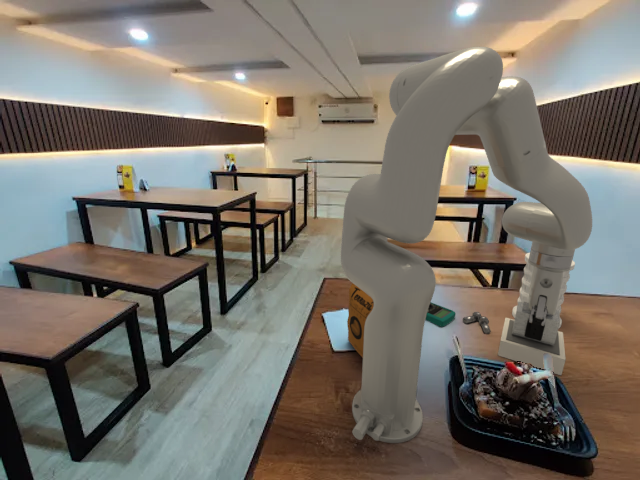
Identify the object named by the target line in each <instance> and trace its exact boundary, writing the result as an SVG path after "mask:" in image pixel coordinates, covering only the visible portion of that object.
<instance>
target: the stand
mask: <svg viewBox="0 0 640 480" xmlns="http://www.w3.org/2000/svg"><path fill="white" fill-rule="evenodd" d="M514 320H515V319H512V318H509V317H505V319H504V323H503V327H502V332H501V335H500V336H501V338H500V342H499V347H498V352H497V356H499V357H502V358H504V359H509V360H511V361H513V362H514V361H515V362H517V361H521V362H524V363H531V364H532V365H533V366H534V367H533V366H532V367H533V368H536V367H537V369H539V368H541V369H540V370H542V369H543V354H544V353H549V354H551V355H552V358H553V367H554V373H553V374H555V375H558V376H562V374H563V371H564V368H565V363H566V359H567V358H566V350H565V341H564V340H565V339H564V332H563V331H559V330H558V332H557V336H556V340H555V344H554V346H553V345H549V344H546V343H542V342H539V341H535V340H532V339H528V338H525V337H521V336H518V335H514V334H512V331H513V325H514Z"/></svg>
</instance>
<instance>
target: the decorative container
mask: <svg viewBox="0 0 640 480" xmlns="http://www.w3.org/2000/svg"><path fill="white" fill-rule="evenodd" d="M529 255H530V252H527V253H525V255H524V262H525V263H526V265H525V266H524V268H523V273H524V274H523V276H522V278H521V286H520V288H519V297H518V298H517V303H518V302H527V303H529V290H530V283H531V277H532V272H533V268H534V266H533V265H531V264H530V263H529V262H528V260H529ZM575 266H576V261H574V260H572V264H571V268H570V270H569V271H565V272H563V279H562V284H561V289H560V294H559V298H558V303H557V307H556V310H557V311H559V314H560V315H561V313H562V306H561V305H562V304H564V302H565V296H564V295H565V293H566V292H567V289H568V288H567V287H568V285H567V282H569V281H570V278H571V277H570V276H571V274H570V271H573V270H575ZM517 306H518V304H517V305H515V306H513V307H512V312H511V315H512V317H513V318H514V319H515V315H516V310H517ZM562 323H563V320H562V318H561V317H560V325H559V328H558V330H559V329H560V328H561V327H562Z"/></svg>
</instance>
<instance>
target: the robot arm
mask: <svg viewBox="0 0 640 480" xmlns="http://www.w3.org/2000/svg"><path fill="white" fill-rule="evenodd" d="M503 63H504V61H503V58H502V56H501V55H500V54H499V52H497V51H496V50H495V49H493V48H491V47H489V46H473V47H467V48H463V49H459V50H456V51H454V52H450V53H446V54H442V55H440V56H438V57H435V58H432V59H429V60H425V61H422V62H420V63H415V64H413V65H410V66H408V67H406V68H404V69H403V70H401V71H400V72H399V73H397V75H395V78H394V79H393V81H392V82H391V84H390V85H391V86H390V88H389V97H388V99H389V104H390V107H391V109H392V112H393V113H394V114H395V117H394V120H393V121H392V123H391V125H390V128H389V130H388V133H387V136H386V139H385V143H384V144H385V145H384V150H383V157H382V161H381V162H382V163H381V169H380V173H372V174H371V173H370V174H366V175H364V176H362V177H360V178H359V179H358V180H356V181H355V182H354V183H353V185H352V186H351V187H350V190H349V191H348V194H347V197H346V199H345V202H344V207H343V218H342V219H343V220H342V234H341V247H340V248H341V249H340V265H341V269H342V272H343V274H344V276H345V277H346V279H347V280H349V282H350V283H351V284H352V283H353V284H354V285H356V286H357V287H359V288H360V289H361V290H363V291H364V292H365V293H366V294H367V295H369V296H370V297H371V298H372V299H373V302H374V307H373V309H372V311H371V312H370V314H369V315H368V317H367V319H366V321H365V326H364V346H363V358H362V369H361V371H362V373H361V388H360V389H359V390H358V391H357V392H356V394H354V397H353V399H352V405H351V406H352V407H351V411H352V416H353V418H354V421H355V426H354V427H353V429H352V431H351V432H352V435H353V436H354V438H355V439H357V440H361V441H362V440H363V439H364V437H365V435H368V436H369V437H370V438H371V439H373V440H374V441H380V442H384V443H389V444H401V443H405V442H407V441H411V440H412V439H413V438H414V437H415V438H416V436H417V435H418V434H419V433H420V431H421V428H422V426H423V422H424V421H423V420H424V413H423V410H422V407H421V405H420V403H419V402H418V400H417V392H418V391H417V390H418V381H419V372H420V364H421V363H420V362H421V355H422V347H423V346H422V343H423V336H424V330H425V329H424V328H425V323H426V320H425V318H426V314H427V311H428V308H429V305H430V302H432V299H433V296H434V293H435V290H436V279H437V278H436V274H435V272H434V269H433V268H432V266H431V265H430V264H429V263H428V262H427V261H426V260H425V259H424V258H423V257H421V256H420V255H418V254H417V253H414V252H413V251H410V250H409V249H406V248H403V247H401V246H399V245H396V244H394V243H392V242H389V241H388V239H390V240H393V241H396V242H399V243H404V244H418V243H421V242H423V241H424V240H425V239H427V237H428V236H430V233H431V232H432V230H433V227H434V224H435V220H436V215H437V210H438V202H439V196H440V190H441V184H442V177H443V171H444V166H445V161H446V157H447V153H448V150H449V148H450V144H451V142H452V141H453V139H454V137H455V136H456V135H457V136H459V135H461V136H462V135H465V136H466V135H467V136H469V135H476V136H479V138H480V141H481V143H482V146H483V149H484V152H485V155H486V157H487V161H488V163H489V166H490V169H491V172H492V174H493V176H494V177H495V178H496V180H498V181H499V182H500V183H503V184H504V185H506V186H508V187H510V188H512V189H513V190H516V191H518V192H519V193H521V194H524V195H526V196H527V197H530V198H532V199H534V200H536V201H537V202H532V201H520V202H516V203H514V204H512V205H509V207H508V208H507V209H506V210H505V211H504V213H503V215H502V219H501V225H502V228H503V230H504V231H505V232H506V233H507V234H508V235H510V236H512V237H515V238H518V239H520V240H521V239H522V240H525V241H528V242H531V246H530V247H531V248H530V251H529V253H530V255H529V260H528V262H529V263H530V264H531V265H533V266H534V268H533V272H532V277H531V283H530V290H529V309H530V310H531V314H530V319H529V320H528V321H527V326H526V330H525V337H528V338H531V339H535V340H538V341H541V340H542V336H543V332H544V328H545V324H544V323H545V319H546V314H547V310H548V314H551V315H555V312H556V307H557V303H558V298H559V294H560V289H561V284H562V279H563V272H565V271H569V270H570V268H571V264H572V260H573V259H574V255H575V252H576V249H579V248H580V247H583V246H585V244H586V243H587V242H588V240H589V238H590V237H591V234H592V229H593V214H592V213H593V212H592V207H591V202H590V197H589V194H588V191H587V190H586V188H585V187H584V186H583V185H582V183H581V182H580V181H579V180H578V179H577V178H576V177H575V176H574V175H573V174H572V173H570V172H569V170H568V169H566V168H565V167H564V166H562V165H561V164H560V163H559V162H557V161H556V160H555V159H553V158H552V157H551V156H550V155H549V153H548V149H547V144H546V141H545V140H546V139H545V137H544V131H543V128H542V123H541V118H540V114H539V110H538V105H537V101H536V97H535V94H534V90H533V87H532V85H531V83H529V82H528V80H526V79H525V78H522V77H519V76H513V75H511V76H503V75H504V74H503V73H504V72H503V71H504V64H503ZM573 261H574V260H573ZM569 272H570V271H569ZM534 306H535V307H537V309H534ZM544 309H545V311H544ZM534 312H536V315H534ZM533 315H534V316H533Z"/></svg>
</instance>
